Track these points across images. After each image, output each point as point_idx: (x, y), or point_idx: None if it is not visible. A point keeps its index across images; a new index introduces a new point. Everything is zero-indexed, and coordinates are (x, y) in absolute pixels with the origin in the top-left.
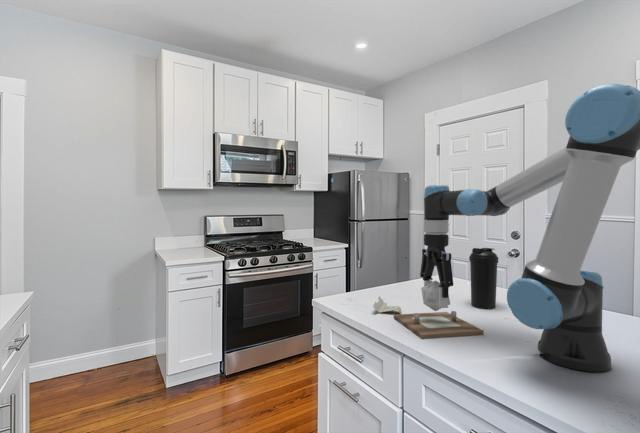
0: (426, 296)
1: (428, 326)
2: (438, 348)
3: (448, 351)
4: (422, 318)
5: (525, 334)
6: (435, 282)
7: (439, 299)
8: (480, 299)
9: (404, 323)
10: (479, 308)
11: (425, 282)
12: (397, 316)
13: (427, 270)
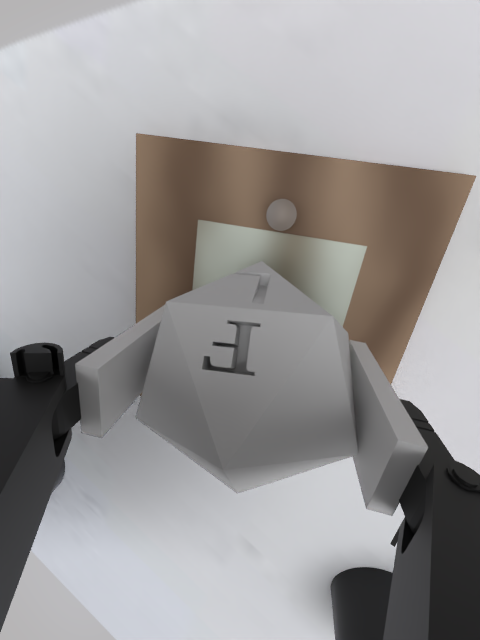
0: (232, 281)
1: (220, 238)
2: (51, 143)
3: (26, 163)
4: (329, 289)
5: (124, 476)
6: (209, 436)
7: (148, 321)
8: (362, 617)
9: (318, 157)
10: (357, 572)
11: (391, 432)
12: (432, 179)
13: (423, 635)
